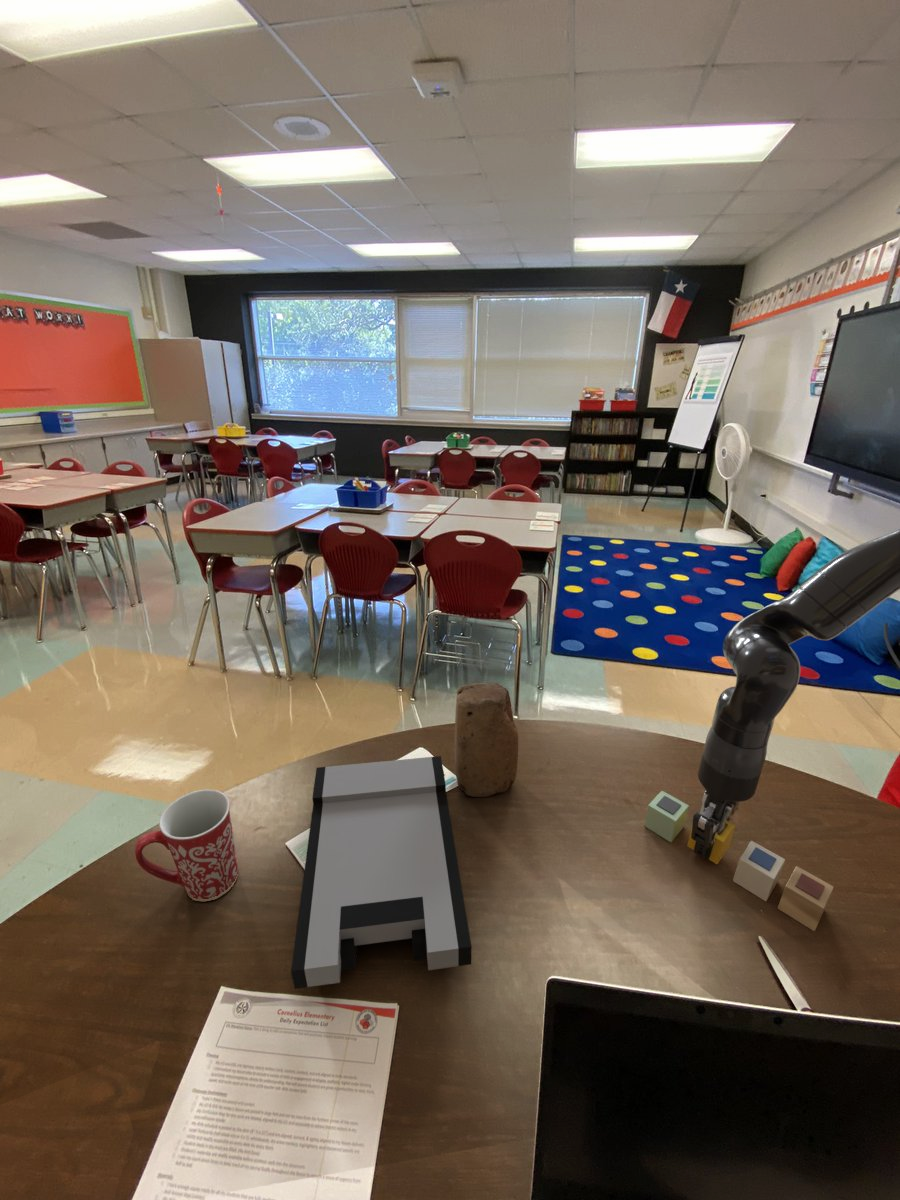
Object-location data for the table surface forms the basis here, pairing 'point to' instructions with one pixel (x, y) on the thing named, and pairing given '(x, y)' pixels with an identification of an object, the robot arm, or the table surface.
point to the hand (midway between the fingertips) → (708, 844)
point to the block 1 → (485, 740)
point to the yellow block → (718, 841)
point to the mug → (195, 844)
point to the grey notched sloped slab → (379, 869)
